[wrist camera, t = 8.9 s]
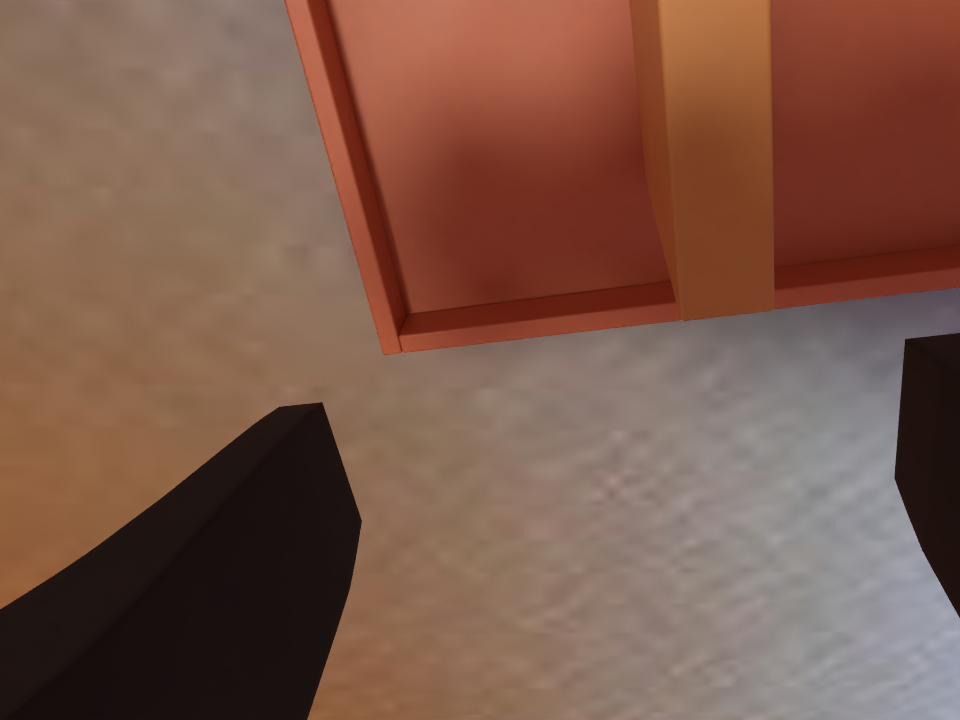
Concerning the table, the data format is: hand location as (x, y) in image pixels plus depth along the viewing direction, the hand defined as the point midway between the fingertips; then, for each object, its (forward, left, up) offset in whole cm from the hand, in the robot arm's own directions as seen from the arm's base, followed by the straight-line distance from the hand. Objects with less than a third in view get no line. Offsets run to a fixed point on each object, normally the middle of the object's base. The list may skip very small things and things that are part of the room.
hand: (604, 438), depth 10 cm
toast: (-2, -3, -10) cm, 10 cm away
